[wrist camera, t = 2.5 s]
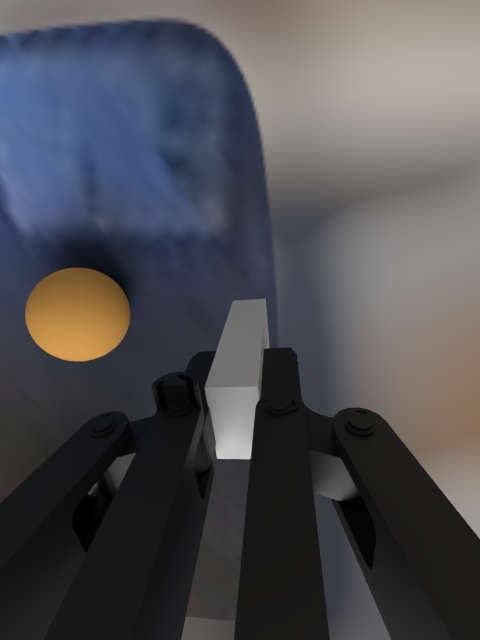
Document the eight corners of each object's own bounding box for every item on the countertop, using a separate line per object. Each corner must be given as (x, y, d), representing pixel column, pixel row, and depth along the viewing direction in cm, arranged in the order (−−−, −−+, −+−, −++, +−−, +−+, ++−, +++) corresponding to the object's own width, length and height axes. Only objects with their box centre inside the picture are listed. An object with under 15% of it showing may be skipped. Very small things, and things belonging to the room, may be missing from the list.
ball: (78, 336, 23) (24, 382, 18) (51, 260, 21) (-19, 289, 16) (151, 332, 22) (116, 378, 17) (132, 253, 20) (85, 281, 15)
